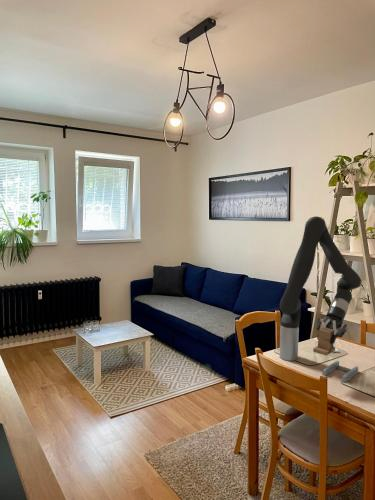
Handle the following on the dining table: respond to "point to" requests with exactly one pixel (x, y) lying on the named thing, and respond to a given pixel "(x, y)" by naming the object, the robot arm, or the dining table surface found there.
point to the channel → (336, 365)
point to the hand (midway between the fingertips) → (324, 341)
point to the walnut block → (324, 342)
